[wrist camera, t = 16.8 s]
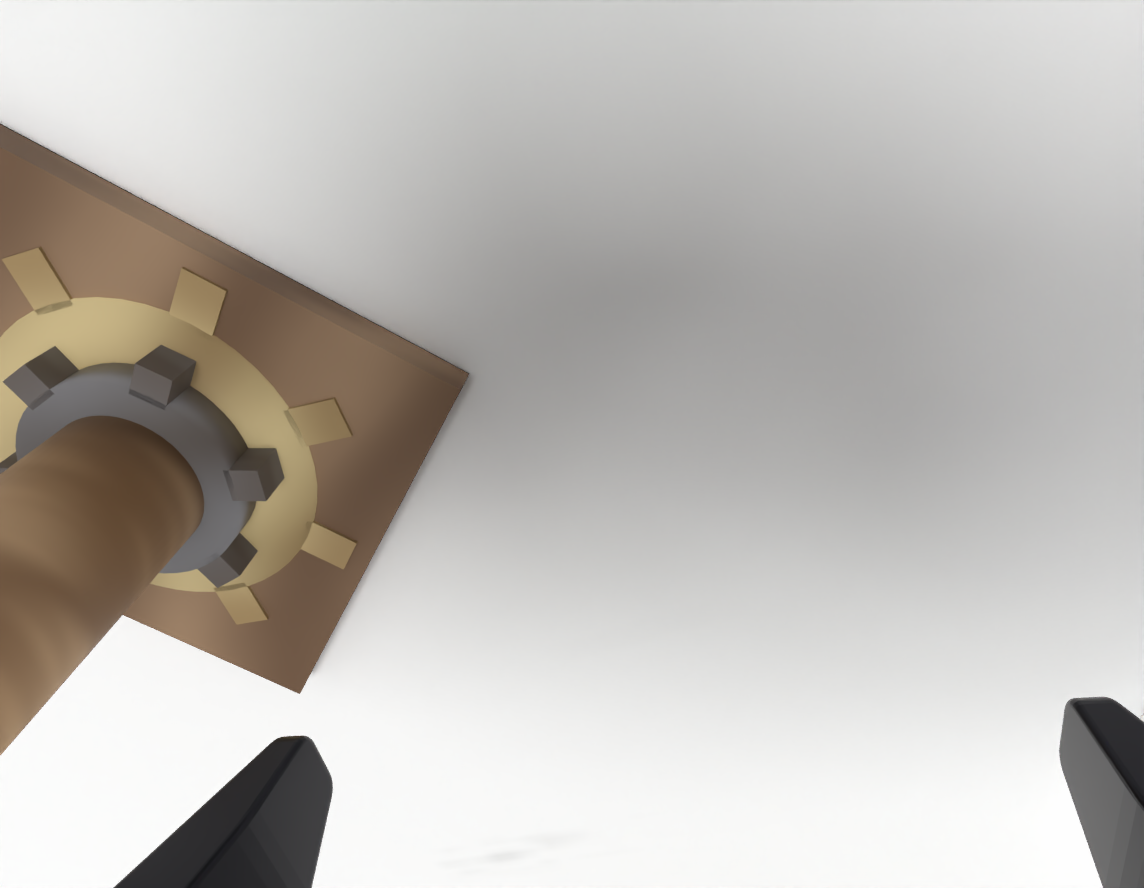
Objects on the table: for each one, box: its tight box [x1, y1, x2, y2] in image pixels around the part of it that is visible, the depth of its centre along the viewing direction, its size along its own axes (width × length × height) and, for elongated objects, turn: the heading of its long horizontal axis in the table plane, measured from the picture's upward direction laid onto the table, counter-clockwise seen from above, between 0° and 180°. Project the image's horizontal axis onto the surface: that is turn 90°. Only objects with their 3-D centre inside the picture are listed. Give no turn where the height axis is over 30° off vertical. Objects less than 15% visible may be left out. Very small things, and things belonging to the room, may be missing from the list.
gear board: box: [0, 124, 469, 694], centre depth 24 cm, size 14×14×1 cm
